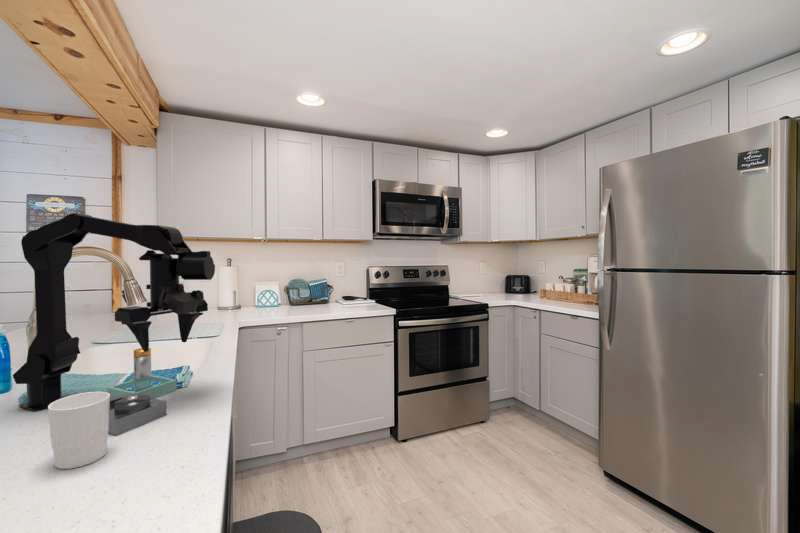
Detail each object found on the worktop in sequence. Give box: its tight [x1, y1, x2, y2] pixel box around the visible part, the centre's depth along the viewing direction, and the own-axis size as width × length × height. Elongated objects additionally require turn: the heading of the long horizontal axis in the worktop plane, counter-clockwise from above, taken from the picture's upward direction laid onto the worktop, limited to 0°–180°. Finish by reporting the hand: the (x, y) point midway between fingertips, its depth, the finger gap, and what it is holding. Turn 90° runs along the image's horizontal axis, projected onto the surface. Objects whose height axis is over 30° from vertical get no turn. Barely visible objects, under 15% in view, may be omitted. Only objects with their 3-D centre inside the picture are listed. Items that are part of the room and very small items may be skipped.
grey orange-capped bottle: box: [133, 347, 152, 392], centre depth 91 cm, size 4×4×10 cm
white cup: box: [47, 391, 110, 470], centre depth 62 cm, size 8×8×10 cm
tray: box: [106, 374, 178, 399], centre depth 91 cm, size 10×10×2 cm
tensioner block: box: [108, 393, 168, 437], centre depth 77 cm, size 12×10×5 cm
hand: (165, 346), depth 86 cm, fingers open, 9 cm apart
